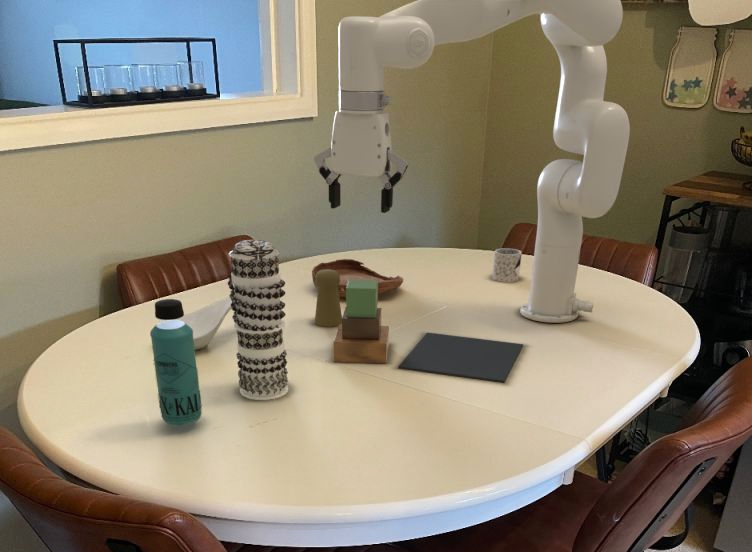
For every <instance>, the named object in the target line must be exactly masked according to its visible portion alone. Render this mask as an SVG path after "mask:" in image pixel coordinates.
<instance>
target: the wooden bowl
mask: <svg viewBox="0 0 752 552" xmlns="http://www.w3.org/2000/svg"><path fill="white" fill-rule="evenodd" d="M364 265H365V263H364V262H363V261H362V262H361V261H359V260H356V259H352V258H343V259H336V260H332V261H328V262H320V263H318V264H317V265H315V266H314V267H313V268H312V270H311V277H312V283H313V286H314V287H315V289H316V290H317V291H318V286H317V284H316V281H315V277H316V274H317V272H319V271H320V270H325V269H330V270H335V271H337V272H338V273H339V275H340V283H339V285H338V293H339V298H346V287H347V284H348V281H349V280H377V281H378V294H381V293H385V292H388V291H391V290H393V289H394V290H396V289H399V288H400V287H401V286H402V285H403V283H404V278H403V276H400V275H397V276H395V277H393V276H389V277H388V276H385V275H381V274H380V273H378V272H376V271H375V270H372V269H370V268H369V267H367V266H364Z"/></svg>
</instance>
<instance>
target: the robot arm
mask: <svg viewBox="0 0 752 552" xmlns="http://www.w3.org/2000/svg"><path fill="white" fill-rule="evenodd" d="M532 15H540V26H541V29H542V32H543V34H544V36H545V37H546V39H547V40H548V41H549V42H550V43H551V45H552V46H553V48H554V51H556V54H557V56H558V59H559V63H560V79H559V80H560V81H559V89H558V95H557V102H556V103H557V104H556V109H555V116H554V120H553V121H554V122H553V130H552V136H553V140H554V144H555V145H556V146H557V148H559V149H560V150H563V151H565V152H569V153H572V154H577V155H582V156H583V159H582V160H583V161H580V160H577V159H570V158H560V159H559V158H558V159H555V160H553V161H551V162H549V163H548V164H547V165H545V167H544V168H543V169H542V171H541V172H540V174H539V177H538V180H537V187H536V198H537V224H536V225H537V226H536V227H537V228H536V236H535V243H534V251H533V252H534V253H533V261H532V268H531V277H530V284H529V285H530V286H529V294H528V302H526V303H523V304H521V306H520V310H519V312H520V314H521V315H522V316H523V317H524V318H526V319H529V320H530V321H531V320H532V321H536V322H539V323H540V322H541V323H549V324H550V323H551V324H561V323H568V322H573V321H574V320H576V319H577V318H578V317H579V311H580V312H585V313H593V308H594V302H590V301H589V300H584V299H583V300H582V299H579V298H576V297H577V292H575V289H576V282H577V275H578V269H579V268H578V267H579V263H580V255H581V248H582V244H583V243H582V242H583V236H584V224H583V223H584V222H583V218H588V219H598V218H601V217H603V216H605V215H606V214H607V213H608V212H609V211H610V210H611V209H612V207H613V206H614V204H615V202H616V200H617V198H618V194H619V190H620V186H621V182H622V176H623V172H624V167H625V162H626V156H627V151H628V148H629V147H628V146H629V140H630V133H631V125H630V120H629V116H628V113H627V112H626V110H625V109H624V107H622V106H621V105H620V104H618V103H616V102H612V101H606V100H604V98H605V97H604V96H605V90H606V82H607V74H608V60H607V55H606V50H605V48H604V45H607V43H609V42H611V41H612V40H613V39H614V38H615V37H616V35H617V34H618V32H619V30H620V29H621V26H622V23H623V18H624V17H623V16H624V9H623V4H622V1H621V0H415V1H412V2H409V3H407V4H404V5H402V6H400V7H398V8H395V9H393V10H390V11H389V12H386V13H384V14H382V15H380V16H378V17H376V16H363V15H362V16H361V15H360V16H359V15H356V16H355V15H354V16H353V15H352V16H351V15H350V16H345V17H343V18H342V19H341V20H340V21H339V25H338V110H336V111H335V115H334V119H333V126H332V133H331V146H330V147H329V148H328V149H326V150H323V151H322V152H320V153H318V154H317V155H315V156H314V159H313V161H314V162H315V164H316V165H315V166H317V169H318V172H319V174H320V176H321V177H322V178H323V179H324V180H325V183H326V184H327V185H328V202H329V203H330V209H336V208H339V207H341V203H342V202H341V200H342V199H341V183H340V182H339V180H340V178H341V176H343V175H346V176H357V177H358V176H359V177H373V178H376V177H377V178H378V180H379V181H380V182H381V184H382V186H383V188H382V189H381V191H380V212H381V213H382V214H386V213H388V212H389V211H390V210H391V208H392V207H393V201H394V187H395V186H397V184H398V183H399V182H400V181H401V180H402V179H403V177H404V175H405V173H406V171H407V169H408V167H409V161H407V160H406V159H405V158H403V157H402V156H400V155H399V154H397V153H396V152H395V151H393V150H392V149H393V148H392V134H391V123H390V117H389V112H387V111H384V109H385V107H387V106H391V105H392V96H389V95H386V91H384V90H385V89H384V87H385V68H397V69H401V70H402V69H404V70H410V69H411V70H413V69H416V68H417V69H418V68H419V67H422V66H423V65H424V64H426V63H427V61H428V60H429V59H430V58H431V57H432V55H433V52H434V49H435V46H439V45H446V44H454V43H464V42H468V41H473V40H477V39H480V38H483V37H485V36H487V35H489V34H491V33H493V32H496V31H497V30H500V29H502V28H504V27H506V26H508V25H510V24H513V23H515V22H517V21H521V19H524V18H526V17H529V16H532ZM329 158H330V165H331V169H330V168H329V167H328V166H327V164H326V160H327V159H329ZM392 164H394V165H396V167H397V168H396V171H395V173H394V174H393V175H392V174H391V173H390V172H391V170H392V167H393V165H392Z"/></svg>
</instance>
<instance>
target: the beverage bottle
mask: <svg viewBox="0 0 752 552" xmlns="http://www.w3.org/2000/svg"><path fill="white" fill-rule="evenodd" d="M183 307H184V306H183V303H182V301H181V300H179V299H174V298H164V299H160V300H158V301H156V302H155V303H154V317H155V318H156V319H158V320H162V321H159V322H157V323H156V324H155V325H154V326H153V328H152V329H151V330H150V332H149V334H150V339H151V346H152V354H153V360H152V362H153V366H154V371H155V378H154V379H155V380H156V382H155V383H156V384H155V385H156V387H157V394H158V395H157V398H158V399H157V400H158V405H159V406H158V407H159V410H160V411H159V412H160V414H159V415H160V417H161V418H162V420H163V422H164V423H166V424H168V425H174V426H182V425H183V426H184V425H189V424H193V423H195V422H197V421H199V420H200V418H201V417H202V410H203V408H202V407H203V405H202V397H201V390H200V382H199V378H200V377H199V369H198V367H197V359H196V350H195V349H194V340H193V330H192V328H191V327H190V326H188V325H187V324H186V323H184V322H182V321H178V320H174V319H178V318H181V317H183V316H184V315H185V311H184V308H183Z"/></svg>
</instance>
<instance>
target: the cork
mask: <svg viewBox="0 0 752 552" xmlns="http://www.w3.org/2000/svg"><path fill="white" fill-rule="evenodd" d="M315 281H316V284H317V286H318V290H317V296H316V304H315V315H314V316H315V317H314V324H315V325H316V326H320V327H325V328H326V327H327V328H329V327H338V326H339V324H342V317H343V314H342V308H341V307H342V306H341V301H340V297H339V293H338V285H339V283H340V275H339V273H338V272H337V271H335V270H330V269H325V270H320V271H319V272H317V274H316V277H315Z"/></svg>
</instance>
